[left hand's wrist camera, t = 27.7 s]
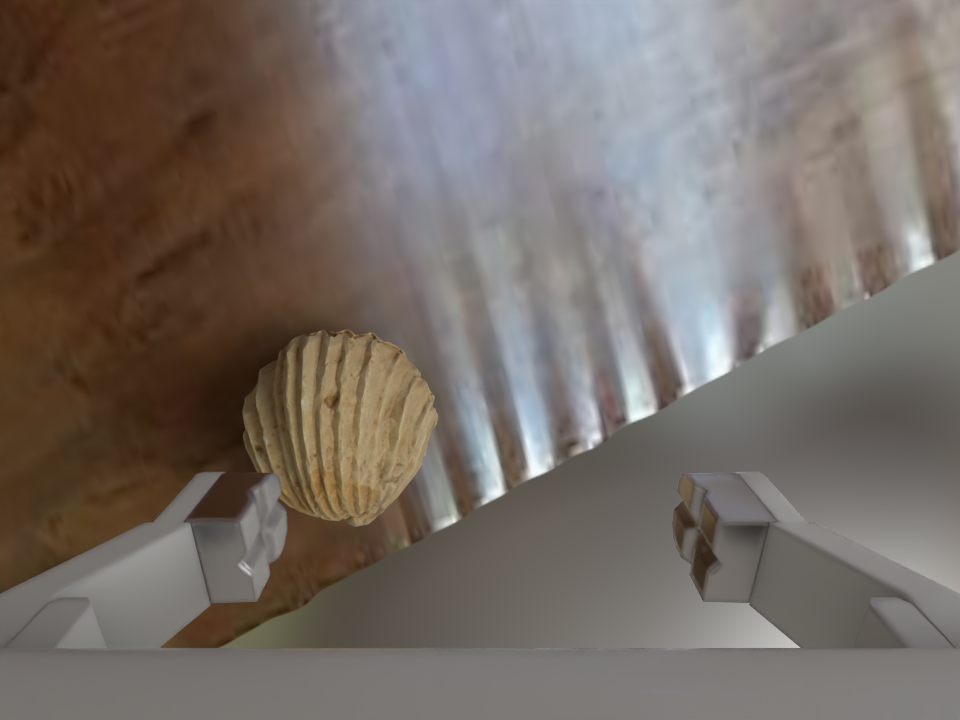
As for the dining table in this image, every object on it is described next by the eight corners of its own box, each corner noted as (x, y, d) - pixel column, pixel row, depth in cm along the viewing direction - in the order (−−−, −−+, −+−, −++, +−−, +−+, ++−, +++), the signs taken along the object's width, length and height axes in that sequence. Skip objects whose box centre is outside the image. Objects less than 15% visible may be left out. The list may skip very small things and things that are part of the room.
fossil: (303, 479, 52) (238, 597, 38) (257, 314, 46) (159, 384, 32) (452, 465, 52) (442, 580, 38) (426, 296, 45) (402, 359, 31)
